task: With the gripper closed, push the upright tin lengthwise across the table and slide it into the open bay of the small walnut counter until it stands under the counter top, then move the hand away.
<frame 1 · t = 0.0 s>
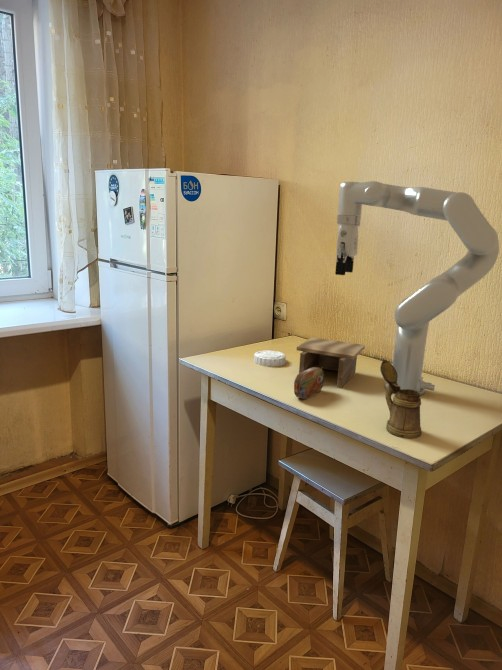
hand: (344, 273, 171), 37 cm above the table, tool pointing down, fingers open, 9 cm apart
tin: (308, 395, 162), on the table
mooncake: (269, 363, 196), on the table
counter: (327, 376, 181), on the table
wooden mug: (396, 429, 140), on the table
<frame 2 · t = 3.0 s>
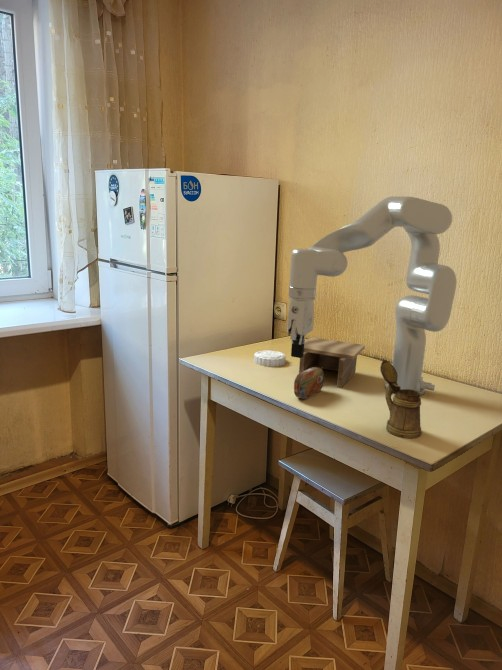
hand: (297, 356, 147), 16 cm above the table, tool pointing down, fingers closed
nothing on the table moved.
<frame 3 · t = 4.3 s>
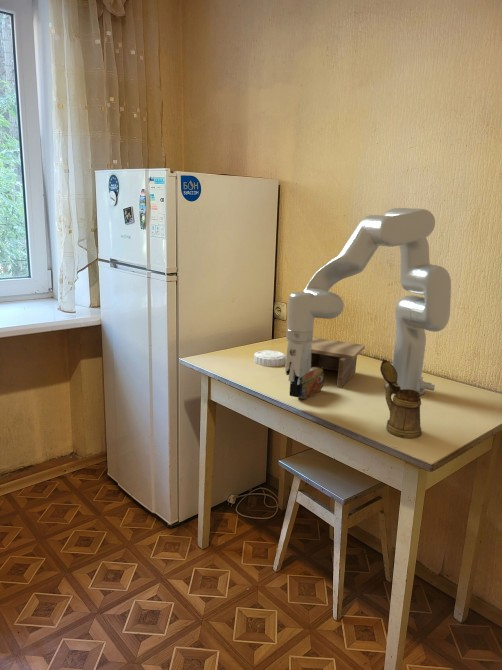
hand: (295, 395, 150), 4 cm above the table, tool pointing down, fingers closed
nothing on the table moved.
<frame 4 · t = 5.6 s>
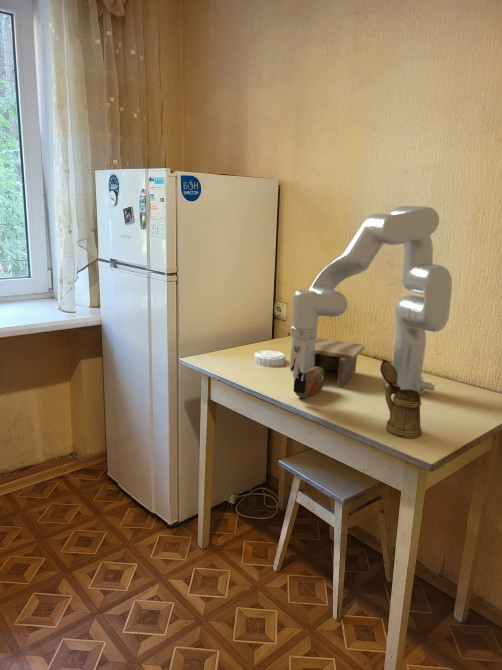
hand: (299, 391, 154), 4 cm above the table, tool pointing down, fingers closed
tin: (308, 394, 163), on the table, touching gripper
everything else where it was.
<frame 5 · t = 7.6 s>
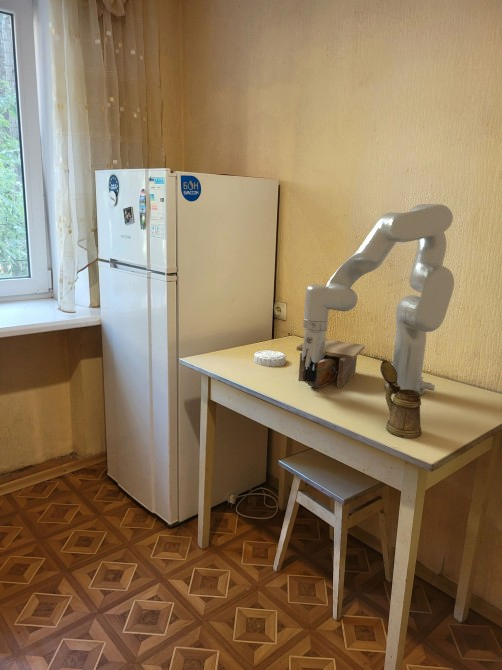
hand: (310, 380, 164), 4 cm above the table, tool pointing down, fingers closed
tin: (321, 385, 172), on the table, touching gripper
everything else where it was.
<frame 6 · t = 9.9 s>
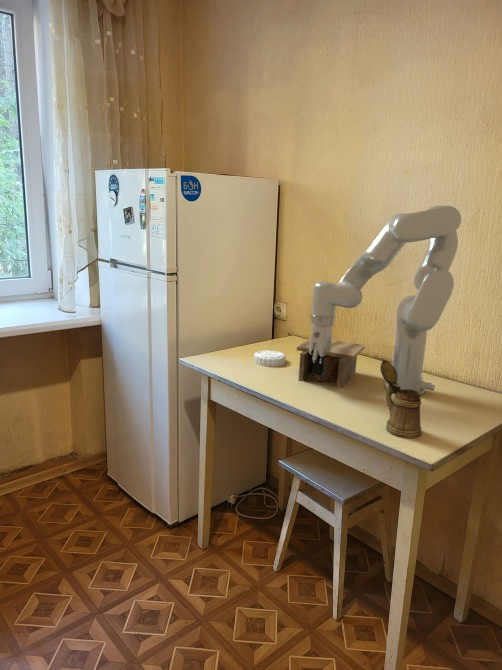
hand: (317, 373, 170), 4 cm above the table, tool pointing down, fingers closed
tin: (330, 379, 178), on the table, touching gripper
everything else where it was.
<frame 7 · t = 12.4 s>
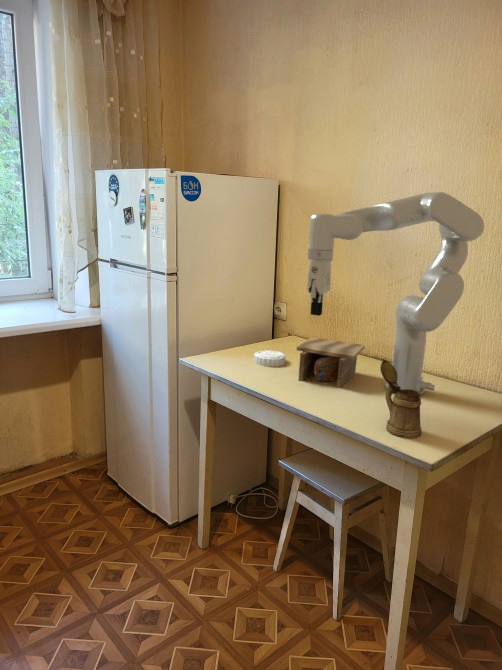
hand: (316, 314, 160), 25 cm above the table, tool pointing down, fingers closed
tin: (330, 379, 178), on the table, touching counter
everything else where it was.
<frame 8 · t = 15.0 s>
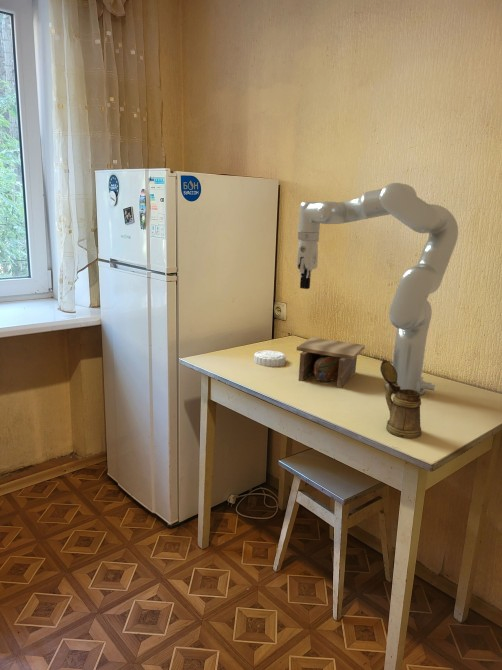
hand: (304, 288, 187), 29 cm above the table, tool pointing down, fingers closed
nothing on the table moved.
at the end: tin inside the target area on the counter (3.5 cm from its centre), point 0.0 cm above the counter's base; tin tilted 4°; tin moved 19.0 cm from its start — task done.
